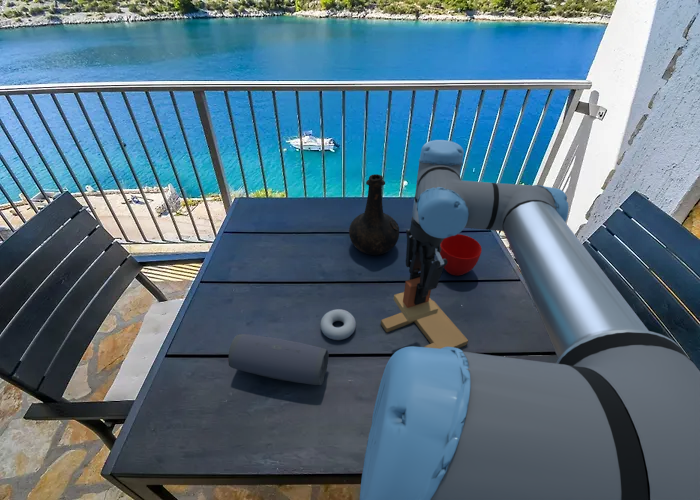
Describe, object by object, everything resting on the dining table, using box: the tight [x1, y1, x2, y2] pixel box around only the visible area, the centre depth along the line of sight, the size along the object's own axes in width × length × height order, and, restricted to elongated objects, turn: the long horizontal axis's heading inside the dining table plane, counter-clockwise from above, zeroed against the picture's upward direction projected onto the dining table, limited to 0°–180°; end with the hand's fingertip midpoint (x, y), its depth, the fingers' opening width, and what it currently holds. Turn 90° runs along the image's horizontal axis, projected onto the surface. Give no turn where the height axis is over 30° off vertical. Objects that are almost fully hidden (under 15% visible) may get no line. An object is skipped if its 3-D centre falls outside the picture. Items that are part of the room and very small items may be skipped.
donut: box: [319, 308, 357, 341], centre depth 98 cm, size 10×3×10 cm
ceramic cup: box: [440, 233, 482, 276], centre depth 117 cm, size 13×17×10 cm
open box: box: [393, 277, 438, 322], centre depth 85 cm, size 8×8×9 cm
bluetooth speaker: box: [227, 333, 330, 386], centre depth 85 cm, size 23×9×10 cm, turn 78°
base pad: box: [380, 300, 469, 349], centre depth 97 cm, size 16×18×2 cm
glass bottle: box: [348, 173, 400, 256], centre depth 119 cm, size 18×18×28 cm
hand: (416, 298), depth 85 cm, fingers closed on open box, 2 cm apart
